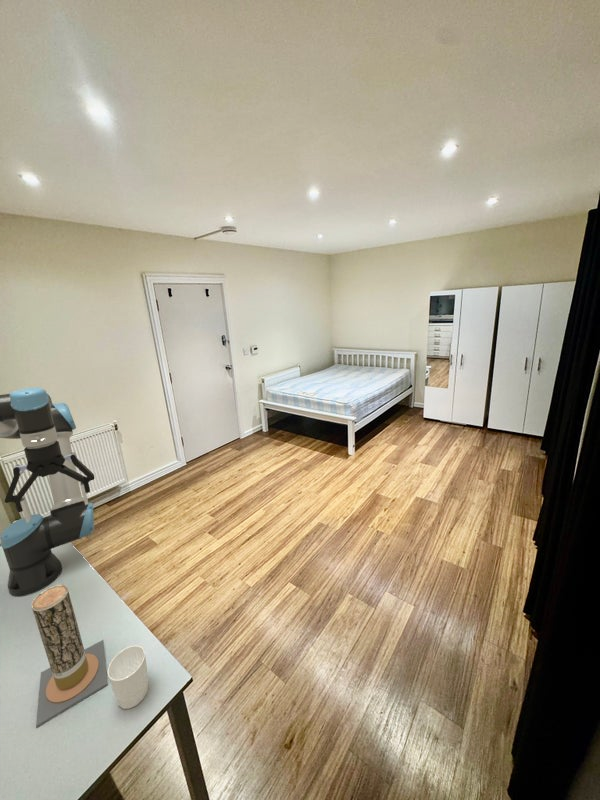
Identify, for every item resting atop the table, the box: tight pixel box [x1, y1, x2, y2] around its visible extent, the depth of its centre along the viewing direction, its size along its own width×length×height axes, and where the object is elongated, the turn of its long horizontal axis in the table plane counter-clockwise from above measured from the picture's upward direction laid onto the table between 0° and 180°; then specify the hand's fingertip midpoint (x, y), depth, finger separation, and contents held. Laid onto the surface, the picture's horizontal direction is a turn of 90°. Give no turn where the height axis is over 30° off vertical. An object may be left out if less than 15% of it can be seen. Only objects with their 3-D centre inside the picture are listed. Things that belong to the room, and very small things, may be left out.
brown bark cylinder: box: [31, 584, 88, 689], centre depth 76 cm, size 7×7×25 cm
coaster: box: [35, 639, 109, 728], centre depth 79 cm, size 14×14×1 cm
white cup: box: [107, 645, 150, 710], centre depth 74 cm, size 8×8×10 cm
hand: (58, 511), depth 90 cm, fingers open, 13 cm apart
